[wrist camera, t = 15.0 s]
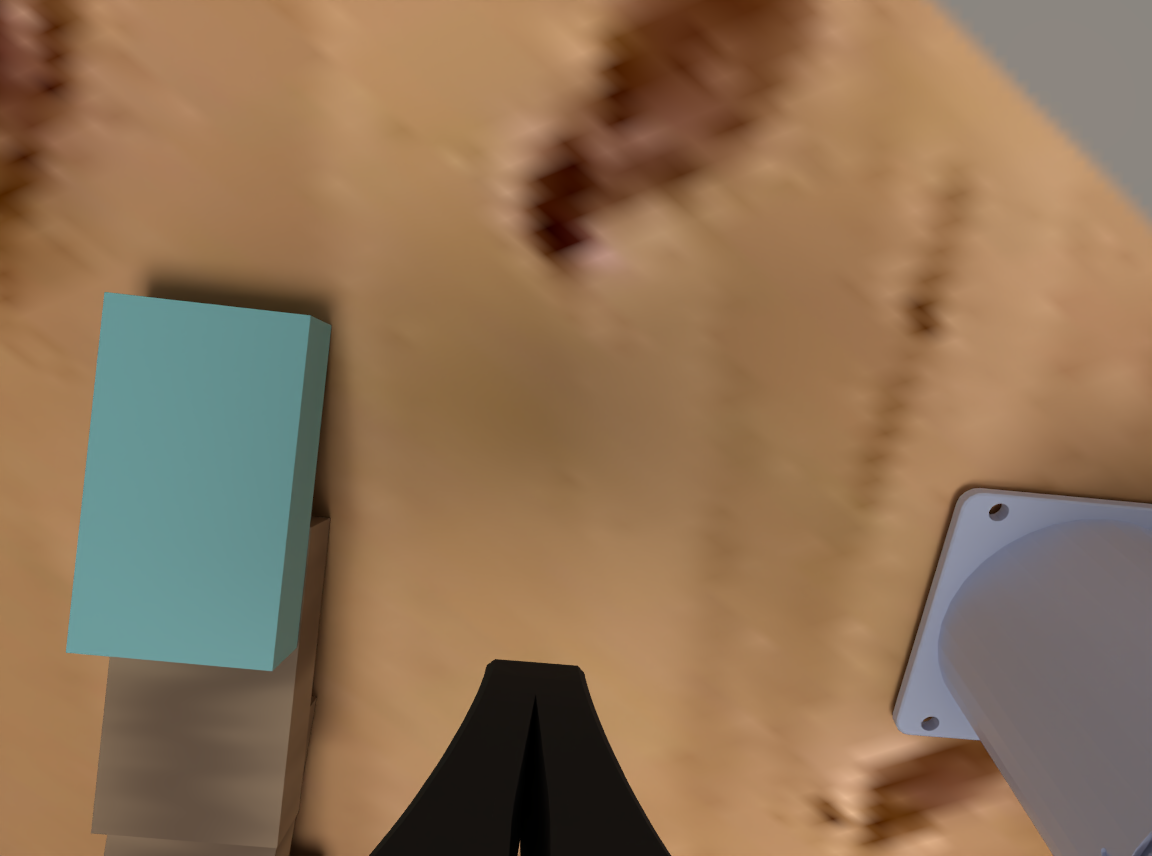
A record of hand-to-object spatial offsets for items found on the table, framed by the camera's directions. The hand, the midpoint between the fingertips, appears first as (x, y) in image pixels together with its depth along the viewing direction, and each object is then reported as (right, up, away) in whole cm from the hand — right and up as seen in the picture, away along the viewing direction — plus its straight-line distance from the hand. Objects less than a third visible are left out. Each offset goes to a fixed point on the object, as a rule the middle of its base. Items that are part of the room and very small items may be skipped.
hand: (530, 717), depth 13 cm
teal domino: (-8, +7, +7) cm, 13 cm away
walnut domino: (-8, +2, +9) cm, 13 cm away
